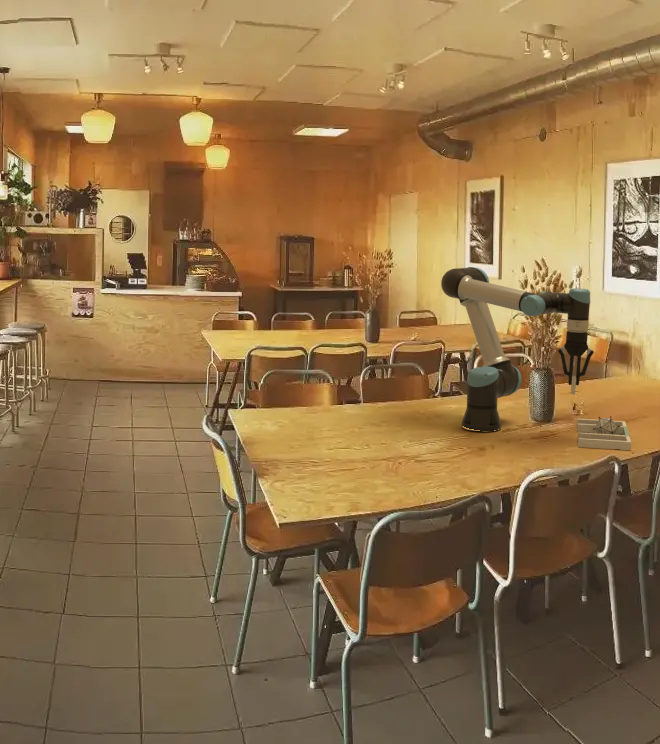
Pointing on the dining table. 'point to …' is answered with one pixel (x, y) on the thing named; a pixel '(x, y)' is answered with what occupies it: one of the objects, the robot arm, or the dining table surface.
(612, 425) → the game die
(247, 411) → the dining table surface
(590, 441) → the trap box
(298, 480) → the dining table surface
